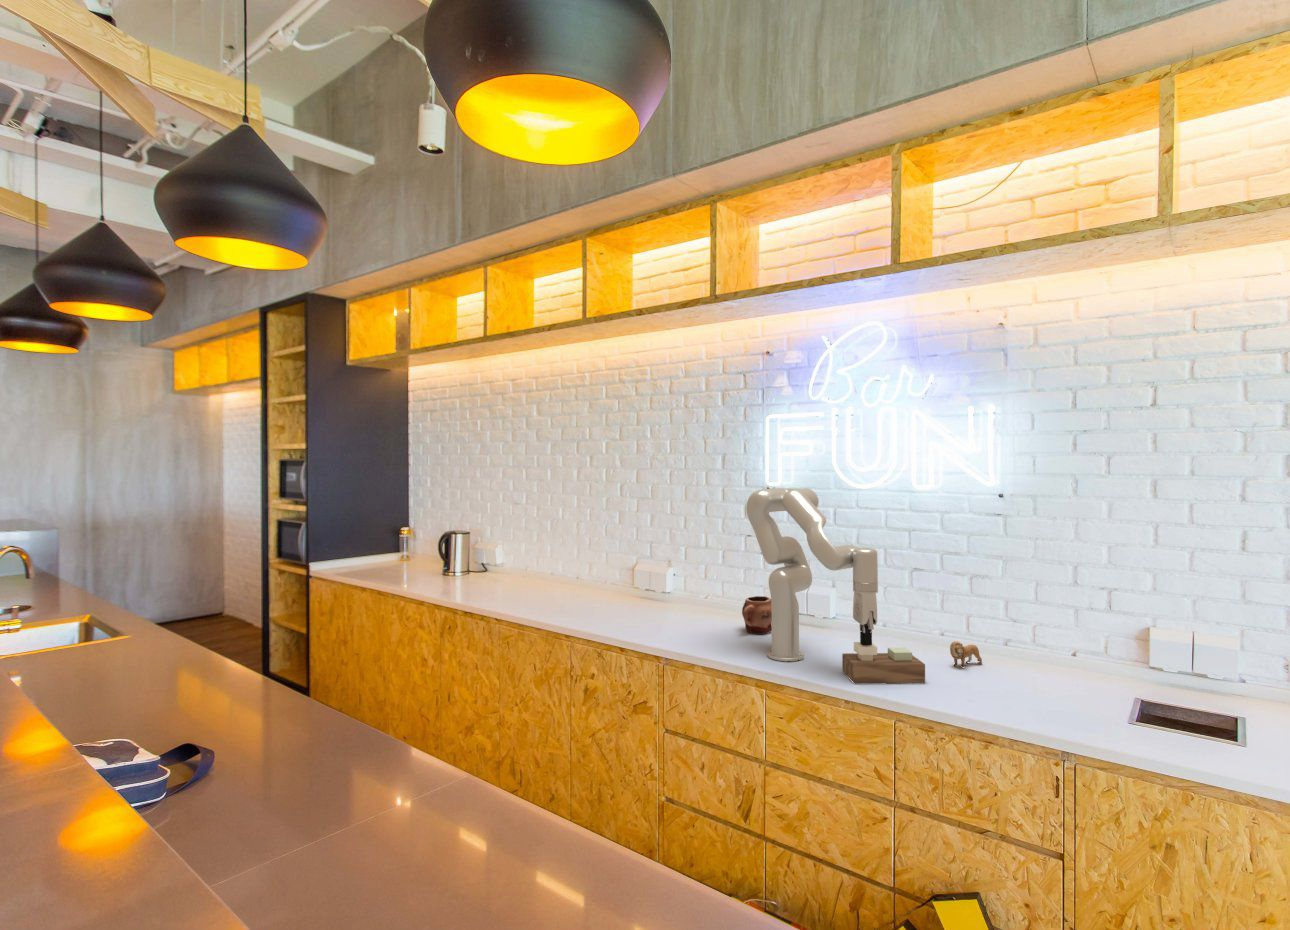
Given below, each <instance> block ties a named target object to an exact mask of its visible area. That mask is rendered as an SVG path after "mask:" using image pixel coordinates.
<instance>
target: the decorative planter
mask: <svg viewBox="0 0 1290 930" xmlns="http://www.w3.org/2000/svg"><path fill="white" fill-rule="evenodd" d="M741 615H742V617H743V620H744V621H743V622H744V625H745V630H746V632H747V633H749V632H750V633H749V634H753V633H755V635H764V634H765V633H766V634H770V633H772V613H771V597H769V596H759V595H758V596H757V595H755V596H750V597H746V599H745V601H744V604H743V606H742V609H741ZM766 634H765V635H766Z"/></svg>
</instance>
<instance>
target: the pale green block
mask: <svg viewBox="0 0 1290 930" xmlns="http://www.w3.org/2000/svg"><path fill="white" fill-rule="evenodd" d="M887 653H888V656H889V657H891V658H892V659H893V660H894V661H908V660H912V655H913V652H912V651H911V650H910V649H908V648H906V647H905V646H904V647H903V646H902V647H887Z"/></svg>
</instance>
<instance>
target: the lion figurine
mask: <svg viewBox="0 0 1290 930" xmlns="http://www.w3.org/2000/svg"><path fill="white" fill-rule="evenodd" d="M949 649H950V650H949V652H950V655H951V657H952V658H953V661H954V662H953V663H954V665H957V666H958V660H960V662H961V664H960V667H961V666H962V667H965V668H966V663H965V662H971V661H972V656H973V655H974V657H975V658H976V660H977V665H978V664H982V665H983V661H982V657H981V656H980V655H981V654H980V651H979V648H978V646H977V645H975V644H968V645H966V646H964V645H963V643H961V642H960V641H957V640H956V641H953V642H951V643H950V645H949ZM966 658H968V660H967V661H966Z"/></svg>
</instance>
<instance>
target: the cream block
mask: <svg viewBox="0 0 1290 930" xmlns="http://www.w3.org/2000/svg"><path fill="white" fill-rule="evenodd" d="M853 651H855V653H858V659H859V660H860V661H873V655H877V653H878V646H876V644H874V643H873V642H872V645H862V644H860V641H858V642H857V641H854V642H853Z"/></svg>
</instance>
